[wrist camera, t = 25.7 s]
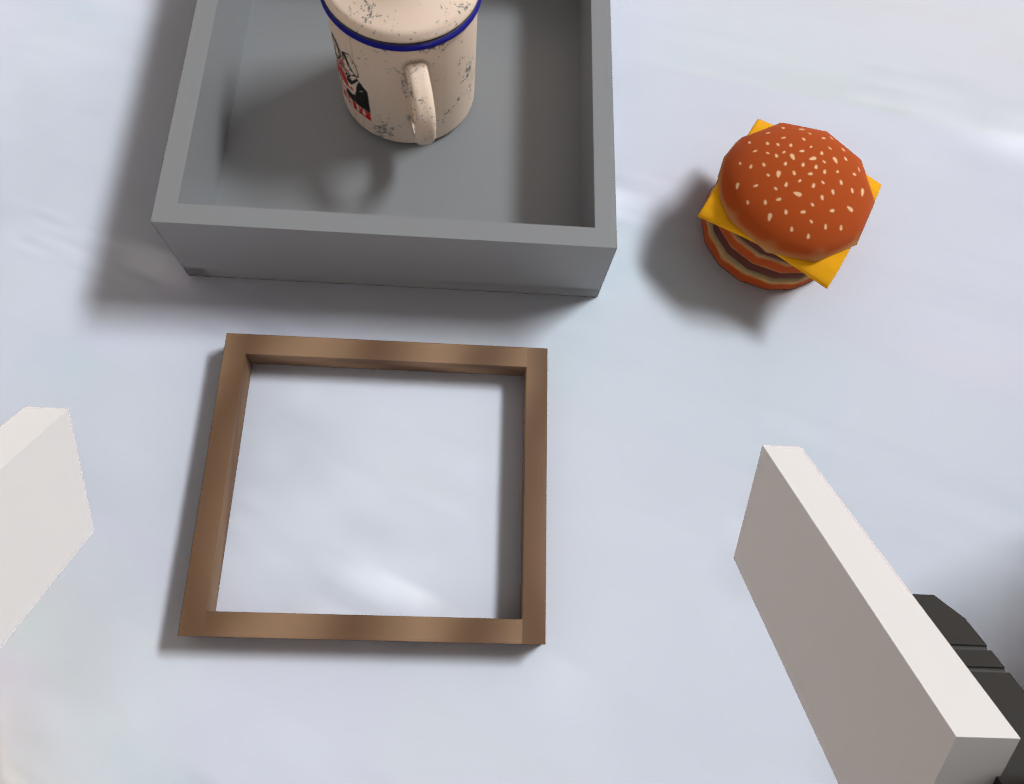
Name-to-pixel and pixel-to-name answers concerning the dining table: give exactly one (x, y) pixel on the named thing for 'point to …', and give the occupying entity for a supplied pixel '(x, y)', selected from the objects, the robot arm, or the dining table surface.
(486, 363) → the brown wooden frame
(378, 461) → the dining table surface
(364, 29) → the teacup with lid
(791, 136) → the hamburger
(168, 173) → the bus tub
